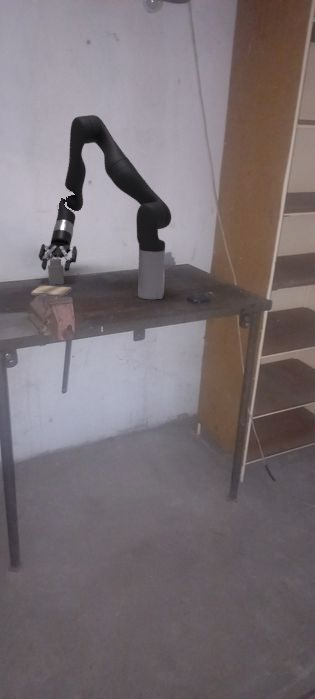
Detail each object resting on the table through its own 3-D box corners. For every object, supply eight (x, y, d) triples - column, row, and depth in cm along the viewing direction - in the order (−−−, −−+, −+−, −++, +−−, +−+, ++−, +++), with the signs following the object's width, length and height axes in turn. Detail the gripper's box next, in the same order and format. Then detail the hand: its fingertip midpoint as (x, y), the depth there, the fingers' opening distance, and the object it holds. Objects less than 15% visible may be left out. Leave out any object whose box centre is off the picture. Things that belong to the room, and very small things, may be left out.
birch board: (71, 290, 194) (71, 287, 194) (63, 297, 185) (63, 294, 184) (40, 287, 195) (40, 285, 195) (31, 295, 186) (30, 292, 186)
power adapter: (64, 284, 201) (63, 253, 197) (51, 285, 199) (49, 254, 194) (61, 282, 204) (60, 251, 199) (48, 283, 201) (46, 252, 197)
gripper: (42, 227, 201) (33, 263, 195) (78, 229, 200) (70, 265, 194) (47, 239, 208) (39, 273, 202) (82, 241, 207) (75, 276, 200)
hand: (54, 269), depth 198 cm, fingers open, 8 cm apart
